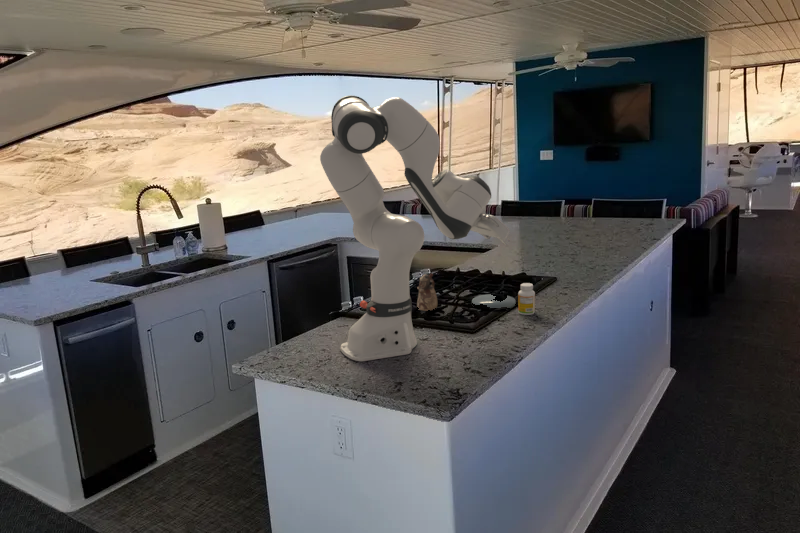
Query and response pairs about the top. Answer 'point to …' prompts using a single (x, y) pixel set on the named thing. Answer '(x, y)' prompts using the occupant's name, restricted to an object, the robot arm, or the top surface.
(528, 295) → the supplement bottle
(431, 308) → the figurine
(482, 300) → the dish
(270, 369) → the top surface
